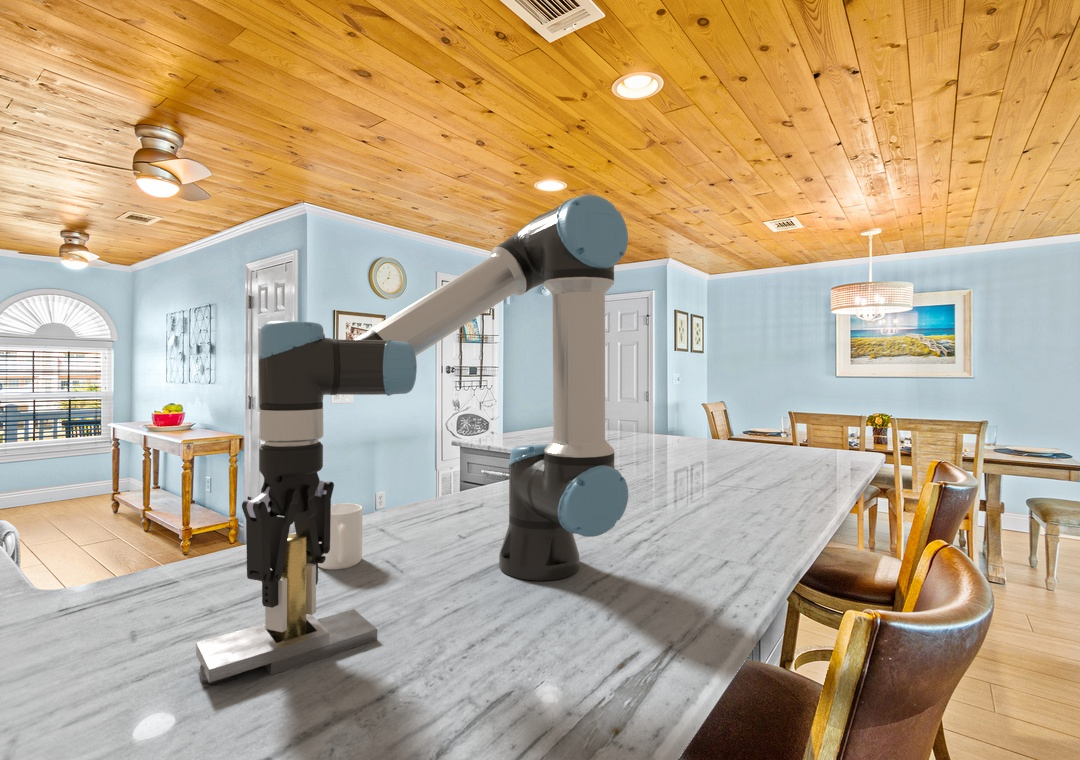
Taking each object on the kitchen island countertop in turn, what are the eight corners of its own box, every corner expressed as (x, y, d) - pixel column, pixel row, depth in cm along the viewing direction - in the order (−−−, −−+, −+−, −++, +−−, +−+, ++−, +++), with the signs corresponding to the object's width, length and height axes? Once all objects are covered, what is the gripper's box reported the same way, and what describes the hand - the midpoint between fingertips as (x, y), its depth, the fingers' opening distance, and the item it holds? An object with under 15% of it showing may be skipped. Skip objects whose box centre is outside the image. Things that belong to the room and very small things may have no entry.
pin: (312, 648, 73) (312, 535, 73) (291, 661, 69) (292, 543, 69) (290, 643, 74) (291, 532, 74) (269, 656, 71) (269, 540, 70)
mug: (367, 573, 99) (367, 517, 99) (317, 580, 96) (317, 521, 95) (359, 552, 110) (359, 501, 110) (314, 558, 106) (314, 505, 106)
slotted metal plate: (353, 619, 81) (353, 599, 81) (377, 639, 75) (377, 618, 75) (194, 666, 68) (194, 642, 68) (207, 696, 62) (207, 670, 62)
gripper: (316, 432, 80) (315, 590, 81) (209, 449, 64) (209, 647, 65) (359, 435, 78) (358, 598, 79) (259, 453, 62) (259, 659, 62)
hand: (291, 619), depth 72 cm, fingers open, 4 cm apart
